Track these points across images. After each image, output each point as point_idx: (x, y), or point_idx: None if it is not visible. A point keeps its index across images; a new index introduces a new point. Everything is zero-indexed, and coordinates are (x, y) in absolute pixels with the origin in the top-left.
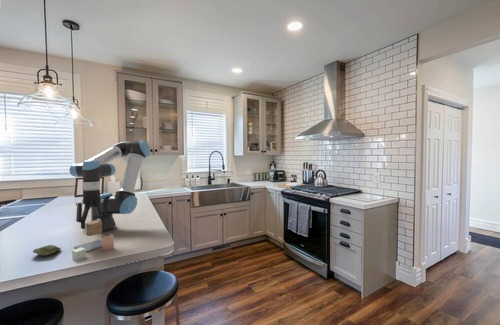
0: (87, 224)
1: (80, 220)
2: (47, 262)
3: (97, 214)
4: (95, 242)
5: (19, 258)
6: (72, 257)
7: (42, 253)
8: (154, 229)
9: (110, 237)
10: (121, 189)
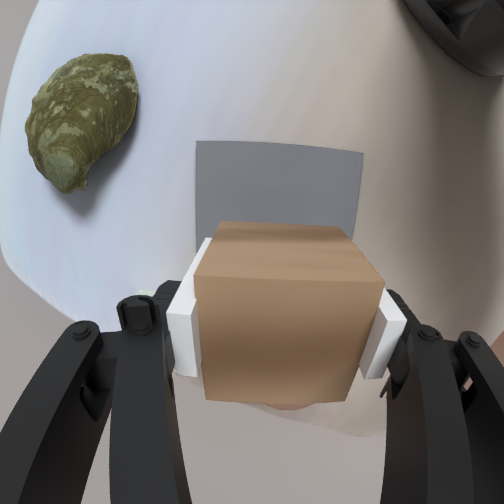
0: (203, 365)
1: (106, 393)
2: (68, 234)
3: (414, 391)
4: (315, 192)
5: (32, 77)
6: (137, 294)
7: (44, 175)
8: None
9: (288, 407)
10: None
